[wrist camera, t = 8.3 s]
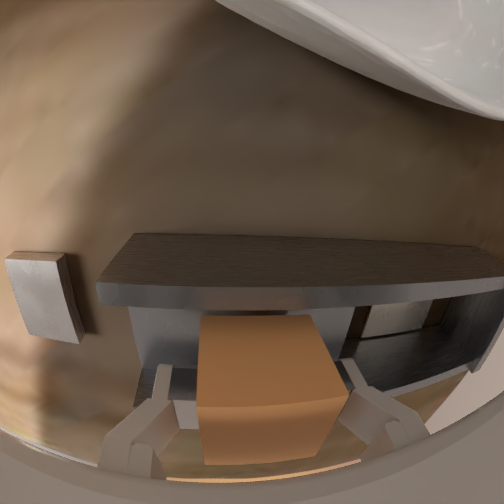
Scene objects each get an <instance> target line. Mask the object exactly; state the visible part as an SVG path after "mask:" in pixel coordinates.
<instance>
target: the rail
mask: <svg viewBox="0 0 504 504" xmlns="http://www.w3.org/2000/svg"><path fill="white" fill-rule="evenodd" d="M95 284H96V289H97V294H98V298H99V303H100V305H112V306H126V307H128V309H129V314H130V319H131V324H132V329H133V333H134V338H135V342H136V346H137V350H138V354H139V358H140V362H141V366H142V371H141V375H140V379H139V383H138V388H137V392H136V396H135V401H134V405H133V408H134V410H135V409H136V408H137V407H138V406H139V405H141V404H142V403H143V402H144V401H145V400H146V399H147V398H151V399H152V394H153V388H154V383H155V378H156V373H157V368H158V366H159V364H169V365H184V366H198V352H199V335H200V320H201V315H217V316H269V315H305V314H310V316H311V318H312V320H313V322H314V324H315V326H316V328H317V330H318V332H319V334H320V336H321V338H322V340H323V342H324V344H325V346H326V348H327V350H328V352H329V354H330V356H331V358H332V360H339V359H345V358H352V359H353V360H354V362H355V364H356V366H357V367H358V369H359V371H360V373H361V374H362V376H363V378H364V380H365V381H366V383H367V385H368V387H369V386H372V387H374V388H376V389H377V390H379V391H381V392H383V393H384V394H386V395H388V396H389V397H395V396H398V395H401V394H404V393H408V392H411V391H414V390H417V389H420V388H422V387H425V386H428V385H431V384H434V383H436V382H439V381H441V380H444V379H446V378H449V377H451V376H454V375H456V374H458V373H461V372H463V371H465V370H467V369H469V370H470V371H471V373H474V372H476V371H478V370H479V369H480V368H481V366H482V365H483V363H484V362H485V360H486V358H487V357H488V355H489V353H490V352H491V350H492V348H493V346H494V345H495V343H496V341H497V339H498V337H499V335H500V334H501V332H502V330H503V328H504V264H503V263H501V262H500V261H498V260H497V259H495V258H493V257H492V256H490V255H488V254H487V253H485V252H483V251H482V250H480V249H478V248H477V247H470V246H456V245H440V244H424V243H407V242H388V241H369V240H347V239H324V238H299V237H270V236H237V235H196V234H133V235H132V236H131V238H130V239H129V240H128V241H127V242H126V244H125V245H124V246H123V247H122V248H121V250H120V251H119V252H118V253H117V255H116V256H115V257H114V258H113V260H112V261H111V262H110V263H109V265H108V266H107V267H106V269H105V270H104V271H103V272H102V274H101V275H100V276H99V278H98V279H97V280H96V282H95ZM448 297H451V300H450V302H449V305H448V307H447V309H446V312H445V314H444V316H443V319H442V321H441V323H440V324H439V325H434V326H429V327H424V328H422V326H423V323H424V321H425V319H426V316H427V314H428V312H429V309H430V307H431V304H432V301H433V299H440V298H448ZM357 306H370V309H369V312H368V315H367V318H366V321H365V324H364V327H363V330H362V332H361V335H360V336H361V338H353V339H345V338H346V335H347V332H348V329H349V326H350V323H351V319H352V316H353V313H354V310H355V307H357Z"/></svg>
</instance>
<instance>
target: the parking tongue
mask: <svg viewBox="0 0 504 504" xmlns="http://www.w3.org/2000/svg"><path fill="white" fill-rule="evenodd" d="M5 263H6V267H7V271H8V275H9V278H10V282H11V285H12V288H13V291H14V294H15V297H16V300H17V303H18V306H19V309H20V312H21V314H22V317H23V320H24V322H25V325H26V327H27V330H28V332H29V334H30V335H35V336H39V337H44V338H49V339H54V340H60V341H65V342H71V343H77V344H80V342H81V340H82V338H83V337H84V335H85V330H84V327H83V324H82V321H81V317H80V314H79V311H78V307H77V303H76V300H75V296H74V292H73V288H72V284H71V279H70V275H69V270H68V265H67V260H66V255H65V253H40V252H13V253H12V254H10V255H9V256H7V257H6V258H5Z"/></svg>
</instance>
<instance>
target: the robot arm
mask: <svg viewBox="0 0 504 504" xmlns="http://www.w3.org/2000/svg"><path fill="white" fill-rule="evenodd" d="M333 362H334V364H335V366H336V368H337V370H338V372H339V374H340V376H341V378H342V381H343V383H344V385H345V387H346V389H347V391H348V393H349V397H348V399H347V401H346V403H345V405H344V407H343V409H342V410H341V412H340V414H339V416H338V419H337V420H338V421H340V422H341V423H342V424H343V425H344V426H345V427H347V428H348V429H349V430H350V431H351V432H353V433H354V434H355V435H356V436H357V437H359V438H360V439H361V440H362V441H363V442H365V443H366V444H367V445H368V447H367V448H366V449H365V450H364V451H363V453H362V454H361V455H360V459H361V461H362V462H359V463H356V464H352V465H349V466H345V467H341V468H337V469H333V470H329V471H324V472H319V473H314V474H310V475H304V476H298V477H291V478H284V479H276V480H267V481H255V482H238V483H198V482H181V481H169V480H166V477H167V474H166V472H165V471H164V469H163V467H162V465H161V463H160V461H159V459H158V456H159V455H160V454H161V452H162V451H163V450H164V449H165V447H166V446H167V445H168V444H169V442H170V441H171V440H172V439H173V437H174V436H175V435H176V434H177V432H178V431H179V429H199V424H198V417H197V409H196V398H197V372H198V366H184V365H169V364H159V366H158V368H157V373H156V378H155V383H154V388H153V394H152V399H151V398H147V399H146V400H145V401H144V402H143V403H142V404H141V405H139V406H138V407H137V408H136V409H135V410H134V411H133V412H132V413H130V414H129V415H128V416H127V417H126V418H125V419H124V420H122V421H121V422H120V423H119V424H118V425H117V426H115V427H114V428H113V429H112V430H111V431H110V432H108V433H107V434H106V435H105V436H104V440H103V445H102V449H101V453H100V458H99V462H98V467H93V466H89V465H86V464H83V463H79V462H76V461H73V460H70V459H67V458H64V457H61V456H58V455H56V454H53V453H50V452H48V451H45V450H43V449H40V448H38V447H35V446H33V445H31V444H29V443H27V442H24V441H22V440H20V439H18V438H16V437H14V436H12V435H10V434H8V433H6V432H4V431H2V430H1V429H0V504H504V391H503V392H502V393H500V394H499V395H498V396H496V397H495V398H493V399H492V400H490V401H489V402H487V403H486V404H485V405H483V406H481V407H480V408H478V409H477V410H475V411H474V412H472V413H470V414H469V415H467V416H465V417H464V418H462V419H460V420H458V421H457V422H455V423H453V424H451V425H449V426H448V427H446V428H444V429H442V430H440V431H438V432H436V433H434V434H432V435H430V433H429V432H428V430H427V428H426V427H425V425H424V423H423V422H422V420H421V418H420V417H419V415H418V413H417V412H416V411H414V410H412V409H410V408H409V407H407V406H405V405H403V404H402V403H400V402H398V401H396V400H395V399H393V398H391V397H389V396H388V395H386V394H384V393H383V392H381V391H379V390H377V389H376V388H374V387H372V386H369V387H368V385H367V383H366V381H365V380H364V378H363V376H362V374H361V373H360V371H359V369H358V367H357V366H356V364H355V362H354V360H353V359H352V358H345V359H339V360H333Z"/></svg>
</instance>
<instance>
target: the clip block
mask: <svg viewBox="0 0 504 504" xmlns="http://www.w3.org/2000/svg"><path fill="white" fill-rule="evenodd" d="M348 397H349V393H348V391H347V389H346V387H345V385H344V383H343V381H342V378H341V376H340V374H339V372H338V370H337V368H336V366H335V364H334V362H333V360H332V358H331V356H330V354H329V352H328V350H327V348H326V346H325V344H324V342H323V340H322V338H321V336H320V334H319V332H318V330H317V328H316V326H315V324H314V322H313V320H312V318H311V316H310V314H305V315H269V316H217V315H201V320H200V335H199V352H198V372H197V398H196V409H197V417H198V424H199V431H200V438H201V444H202V450H203V456H204V462H205V465H240V464H257V463H268V462H278V461H286V460H293V459H300V458H306V457H312V456H315V455H316V453H317V452H318V450H319V448H320V447H321V445H322V444H323V442H324V440H325V439H326V437H327V435H328V434H329V432H330V430H331V428H332V427H333V425H334V423H335V421H336V420H337V418H338V416H339V414H340V412H341V410H342V409H343V407H344V405H345V403H346V401H347V399H348Z"/></svg>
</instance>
